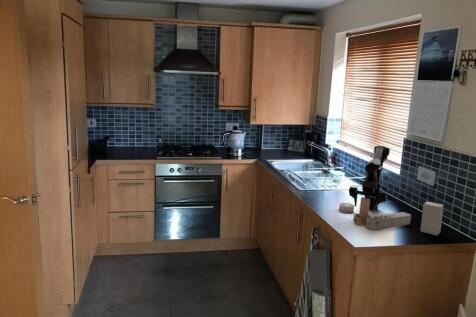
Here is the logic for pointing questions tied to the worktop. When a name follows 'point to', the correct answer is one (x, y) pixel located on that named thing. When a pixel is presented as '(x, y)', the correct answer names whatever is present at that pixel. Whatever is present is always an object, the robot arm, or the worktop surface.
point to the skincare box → (431, 218)
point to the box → (388, 220)
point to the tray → (360, 221)
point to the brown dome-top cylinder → (364, 208)
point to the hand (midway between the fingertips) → (364, 208)
